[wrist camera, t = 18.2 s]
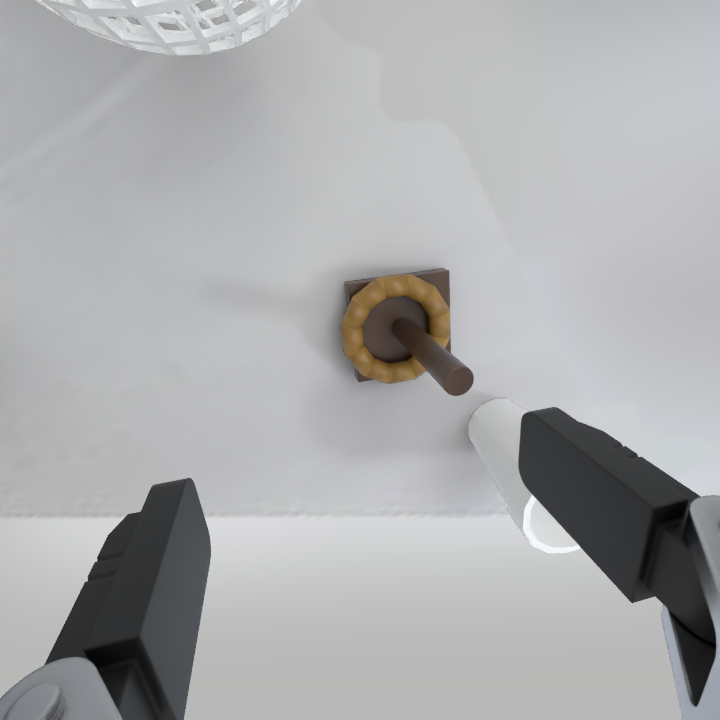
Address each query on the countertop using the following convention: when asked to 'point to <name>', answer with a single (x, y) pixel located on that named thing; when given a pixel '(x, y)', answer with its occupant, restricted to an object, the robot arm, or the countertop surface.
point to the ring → (372, 298)
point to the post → (411, 334)
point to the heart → (150, 3)
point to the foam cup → (514, 474)
